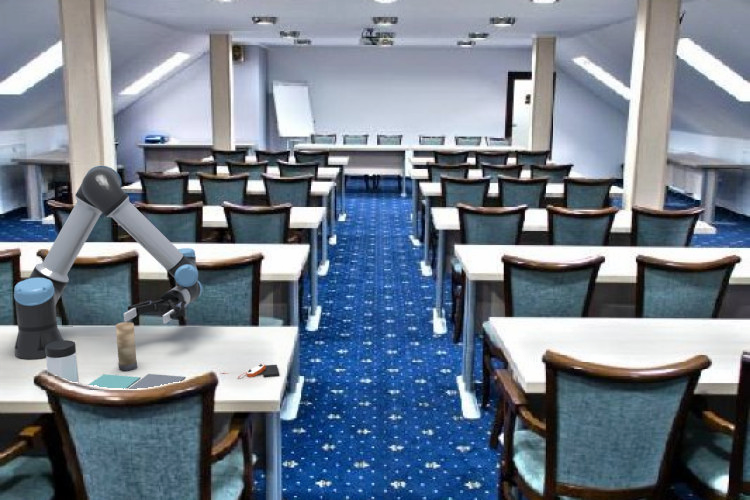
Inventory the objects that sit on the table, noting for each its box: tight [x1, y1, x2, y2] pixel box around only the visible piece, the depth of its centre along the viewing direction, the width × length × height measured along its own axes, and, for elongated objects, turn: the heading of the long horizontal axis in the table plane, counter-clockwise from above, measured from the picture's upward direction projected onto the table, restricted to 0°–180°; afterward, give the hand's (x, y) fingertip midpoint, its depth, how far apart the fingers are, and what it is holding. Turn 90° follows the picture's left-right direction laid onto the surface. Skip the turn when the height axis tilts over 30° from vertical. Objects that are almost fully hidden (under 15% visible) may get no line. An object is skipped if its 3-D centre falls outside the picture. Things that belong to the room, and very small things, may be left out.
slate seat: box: [128, 373, 186, 389], centre depth 222 cm, size 12×12×1 cm
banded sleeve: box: [115, 321, 138, 372], centre depth 233 cm, size 5×5×14 cm
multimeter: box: [221, 363, 280, 380], centre depth 228 cm, size 18×12×3 cm, turn 98°
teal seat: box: [87, 373, 141, 389], centre depth 222 cm, size 12×12×1 cm
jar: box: [45, 339, 79, 383], centre depth 221 cm, size 9×8×12 cm
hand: (144, 318), depth 242 cm, fingers open, 13 cm apart
